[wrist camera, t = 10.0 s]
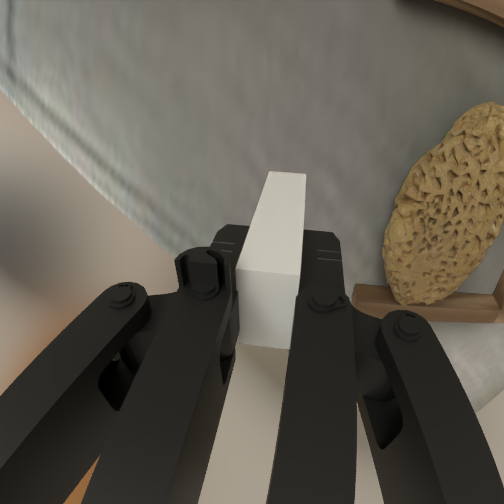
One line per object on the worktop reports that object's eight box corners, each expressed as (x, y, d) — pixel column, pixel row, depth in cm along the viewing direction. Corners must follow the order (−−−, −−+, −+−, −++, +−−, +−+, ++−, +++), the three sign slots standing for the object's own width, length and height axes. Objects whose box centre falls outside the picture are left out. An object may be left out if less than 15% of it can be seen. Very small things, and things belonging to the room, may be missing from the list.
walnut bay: (389, -29, 16) (398, -39, 14) (564, 45, 13) (580, 47, 11) (351, 297, 35) (353, 315, 32) (496, 307, 32) (504, 323, 29)
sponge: (456, 83, 21) (326, 238, 28) (517, 95, 15) (358, 290, 21) (507, 172, 26) (401, 298, 33) (555, 200, 20) (434, 345, 26)
